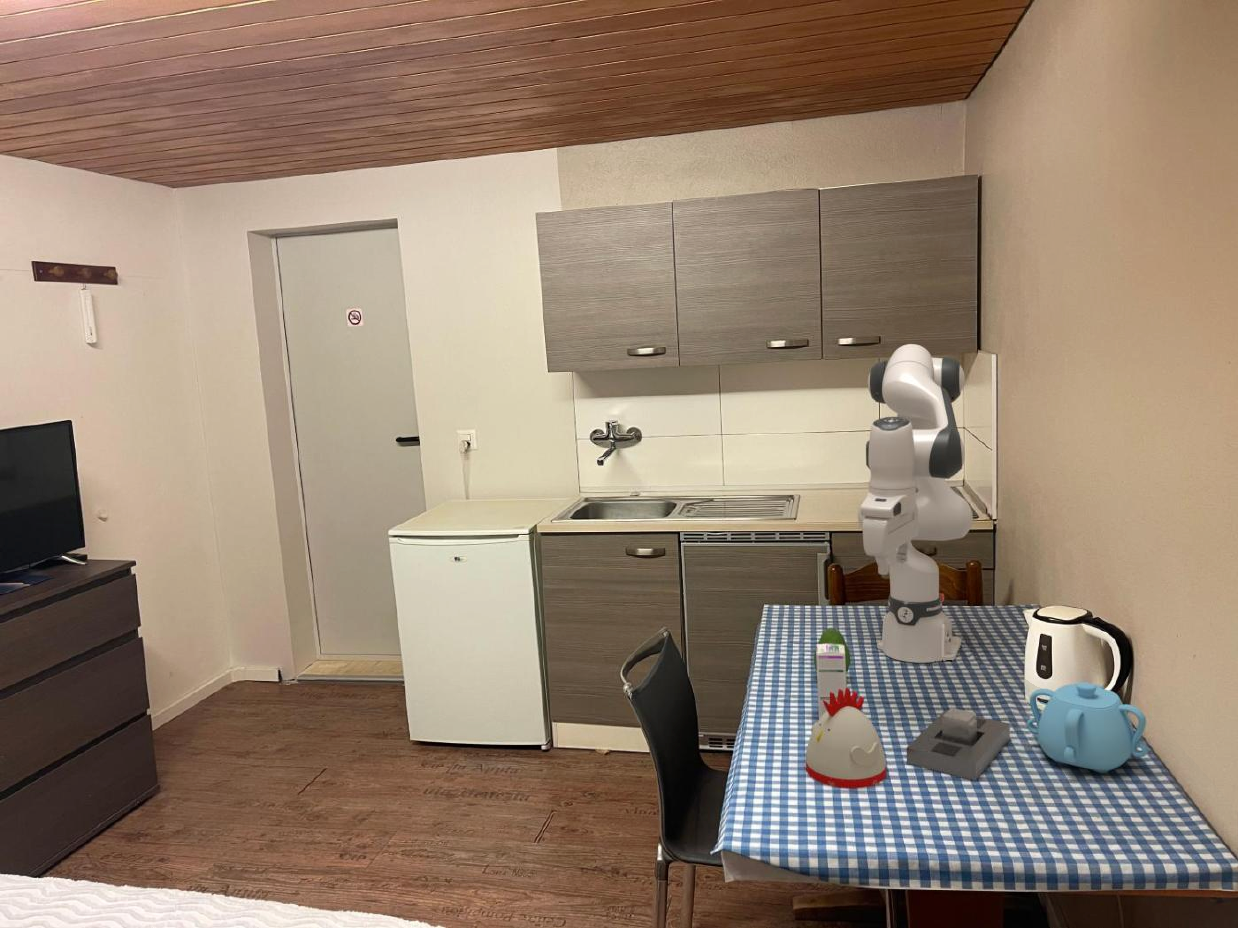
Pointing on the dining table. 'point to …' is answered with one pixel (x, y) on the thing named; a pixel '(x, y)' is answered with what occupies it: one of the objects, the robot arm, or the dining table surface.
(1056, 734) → the decorative pot
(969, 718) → the stepped metal block
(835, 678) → the syrup box
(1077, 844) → the dining table surface
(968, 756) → the grey flat block
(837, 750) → the kitchen timer
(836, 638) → the avocado
